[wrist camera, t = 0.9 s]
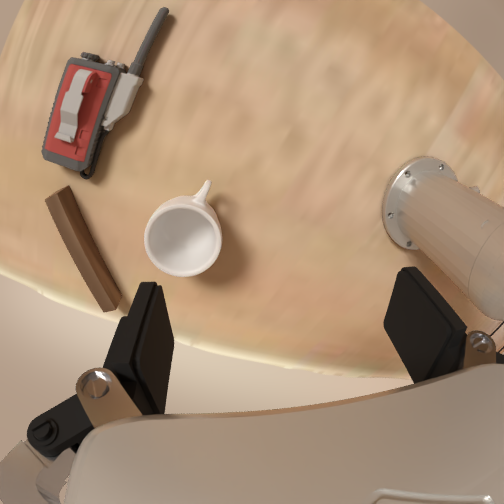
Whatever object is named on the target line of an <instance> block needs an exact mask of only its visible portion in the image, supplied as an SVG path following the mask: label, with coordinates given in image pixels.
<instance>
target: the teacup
mask: <svg viewBox="0 0 504 504" xmlns="http://www.w3.org/2000/svg"><path fill="white" fill-rule="evenodd" d="M211 183H212V182H211V181H210V180H206V181H205V183H204V185H203V186H202V188H201V189H200V191H199V192H198V193H197V194H195V195H193V196H178V197H175V198H173V199H170V200H168V201H166V202H164V203H163V204H162V205H161V206H160V207H159V208H158V209H157V210H156V211H155V212H154V213H153V215H152V216H151V218H150V220H149V221H148V224H147V226H146V229H145V235H144V243H145V249H146V252H147V254H148V256H149V258H150V260H151V261H152V262H153V264H154V265H155V266H156V267H158V268H159V269H160V270H162V271H163V272H165V273H167V274H170V275H173V276H178V277H189V276H194V275H197V274H200V273H202V272H204V271H205V270H207V269H208V268H209V267H210V266H211V265H212V264H213V263H214V262H215V260H216V259H217V257H218V255H219V253H220V250H221V247H222V231H221V226H220V223H219V221H218V218H217V216H216V213H215V211H214V209H213V208H212V207H211V206H210V205H209V204H208V203H207V201H206V196H207V194H208V191H209V189H210V186H211Z"/></svg>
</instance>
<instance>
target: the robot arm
mask: <svg viewBox="0 0 504 504" xmlns="http://www.w3.org/2000/svg"><path fill="white" fill-rule="evenodd" d="M382 218H383V223H384V226H385V229H386V231H387V233H388V234H389V236H390V237H391V238H392V239H393V240H394V241H395V242H396V243H397V244H398V245H400V246H401V247H403V248H406V249H411V250H418V249H420V250H421V251H423V252H424V253H425V254H426V255H427V256H428V257H429V258H430V259H431V260H432V261H433V262H434V263H435V264H436V265H437V266H438V267H439V268H440V269H441V270H442V271H443V272H444V273H445V274H446V275H447V276H448V277H449V278H450V279H451V280H452V281H453V282H454V283H455V285H456V286H457V287H458V288H459V289H460V290H461V291H462V292H463V293H464V294H465V295H466V296H467V297H468V298H469V300H470V301H471V302H472V303H473V304H474V305H475V306H476V307H477V308H478V309H479V310H480V311H481V312H482V313H483V314H484V315H486V316H487V317H489V318H491V319H494V320H499V321H504V207H502V206H500V205H499V204H497V203H495V202H494V201H492V200H490V199H488V198H487V197H485V196H483V195H481V194H480V190H479V188H478V187H477V186H473V187H467V186H465V185H463V184H461V183H459V182H458V180H457V178H456V175H455V173H454V172H453V170H452V169H451V168H450V167H449V166H448V165H447V164H446V163H445V162H443V161H441V160H439V159H436V158H433V157H425V156H424V157H418V158H415V159H413V160H411V161H409V162H407V163H406V164H404V165H403V166H402V167H401V168H400V169H399V170H398V171H397V172H396V173H395V175H394V176H393V177H392V179H391V180H390V182H389V184H388V186H387V189H386V192H385V195H384V198H383V205H382ZM384 329H385V331H386V332H387V334H388V336H389V338H390V339H391V341H392V343H393V345H394V347H395V348H396V350H397V352H398V354H399V356H400V358H401V359H402V361H403V363H404V365H405V367H406V369H407V371H408V373H409V374H410V376H411V378H412V380H413V382H414V384H411V385H408V386H404V387H400V388H396V389H392V390H388V391H383V392H379V393H375V394H370V395H365V396H361V397H356V398H351V399H345V400H339V401H333V402H328V403H321V404H314V405H308V406H300V407H291V408H282V409H272V410H262V411H248V412H228V413H201V414H164V412H165V405H166V397H167V390H168V382H169V375H170V369H171V362H172V355H173V350H174V337H173V333H172V329H171V324H170V320H169V316H168V312H167V307H166V303H165V298H164V294H163V289H162V286H161V285H159V286H157V283H156V282H141V283H140V285H139V288H138V290H137V293H136V295H135V298H134V300H133V303H132V306H131V308H130V311H129V314H128V316H123V317H122V318H121V319H120V322H119V324H118V327H117V329H116V332H115V335H114V337H113V340H112V343H111V346H110V348H109V351H108V354H107V357H106V360H105V362H104V365H103V368H93V369H90V370H88V371H86V372H85V373H83V374H82V375H81V376H80V377H79V378H78V381H77V383H76V393H77V394H75V395H74V396H72V397H70V398H69V399H67V400H65V401H64V402H62V403H60V404H58V405H57V406H55V407H53V408H51V409H50V410H48V411H46V412H45V413H43V414H41V415H40V416H38V417H36V418H35V419H34V420H32V422H31V423H30V425H29V427H28V430H27V438H28V439H27V440H26V441H25V442H23V441H22V440H21V441H20V442H19V443H18V444H17V445H16V446H15V447H14V448H13V449H12V450H11V451H10V452H9V453H8V455H7V456H6V457H5V458H4V459H3V460H2V461H1V462H0V499H1V501H2V502H3V504H61V503H60V500H59V492H60V490H61V489H62V487H63V486H64V485H65V484H66V481H65V479H66V478H67V477H68V476H69V480H68V484H67V489H66V494H65V500H64V504H504V355H502V354H500V353H498V352H496V346H495V342H494V341H493V339H492V338H491V337H490V336H489V335H488V334H486V333H484V332H482V331H471V332H469V333H468V335H467V334H466V333H465V331H466V329H467V326H466V325H465V324H464V322H463V321H462V320H461V319H460V317H459V316H458V315H457V314H456V312H455V311H454V310H453V309H452V308H451V306H450V305H449V304H448V303H447V302H446V300H445V299H444V298H443V297H442V296H441V295H440V293H439V292H438V291H437V290H436V289H435V288H434V286H433V285H432V284H431V283H430V282H429V281H428V280H427V278H426V277H425V276H424V275H423V274H422V273H421V272H420V271H419V270H418V269H417V268H416V267H403V268H402V269H401V271H399V272H398V274H397V277H396V281H395V285H394V289H393V292H392V296H391V299H390V302H389V306H388V309H387V312H386V316H385V319H384Z"/></svg>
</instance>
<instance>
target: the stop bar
mask: <svg viewBox="0 0 504 504" xmlns="http://www.w3.org/2000/svg"><path fill="white" fill-rule="evenodd" d="M45 202H46V204H47V206H48V209H49V211H50V213H51V216H52V218H53V220H54V222H55V224H56V226H57V229H58V231H59V233H60V235H61V237H62V239H63V241H64V243H65V245H66V247H67V249H68V251H69V253H70V255H71V257H72V258H73V260H74V262H75V264H76V266H77V268H78V270H79V271H80V273H81V275H82V277H83V279H84V280H85V282H86V284H87V286H88V287H89V289H90V291H91V292H92V294H93V296H94V297H95V299H96V301H97V302H98V304H99V306H100V307H101V309H102V310H103V312H108V311H113V310H116V309H117V306H118V304H119V302H120V299H121V297H122V295H121V293H120V291H119V289H118V287H117V286H116V284H115V282H114V280H113V278H112V276H111V275H110V273H109V271H108V269H107V267H106V265H105V263H104V261H103V259H102V257H101V255H100V253H99V251H98V249H97V247H96V245H95V243H94V241H93V239H92V237H91V235H90V233H89V231H88V229H87V226H86V224H85V222H84V220H83V218H82V215H81V213H80V211H79V209H78V206H77V204H76V202H75V199H74V197H73V194H72V192H71V189H70V187H69V186H66V187H64V188H62V189H60V190H58V191H56V192H55V193H53V194H52V195H51V196H49V197H48V198H46V199H45Z"/></svg>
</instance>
